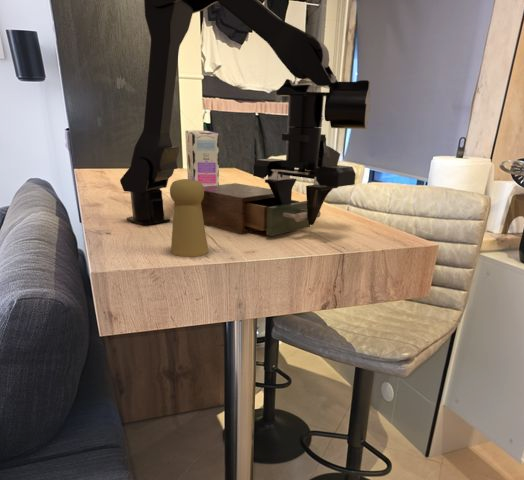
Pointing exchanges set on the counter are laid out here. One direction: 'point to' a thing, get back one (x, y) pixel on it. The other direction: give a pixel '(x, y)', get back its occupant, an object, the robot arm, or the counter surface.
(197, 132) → the candy box
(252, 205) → the drawer
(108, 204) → the counter surface
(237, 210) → the cabinet
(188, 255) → the cork
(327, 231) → the counter surface
